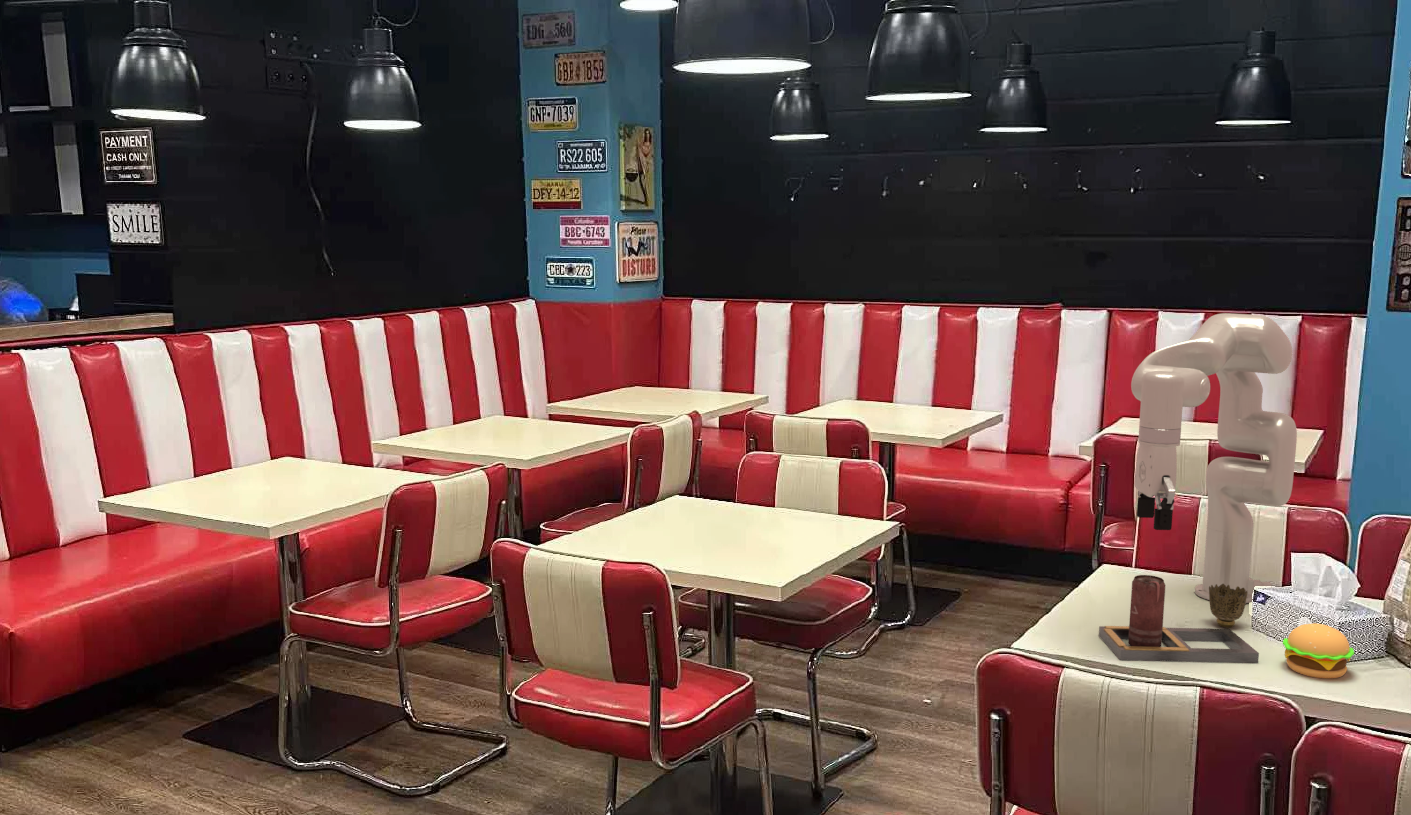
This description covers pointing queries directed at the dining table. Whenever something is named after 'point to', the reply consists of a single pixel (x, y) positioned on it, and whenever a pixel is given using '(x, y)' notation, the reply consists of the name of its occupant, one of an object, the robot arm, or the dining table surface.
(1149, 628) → the can
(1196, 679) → the dining table surface
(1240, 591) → the cup
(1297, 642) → the hamburger
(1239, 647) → the grey tray
